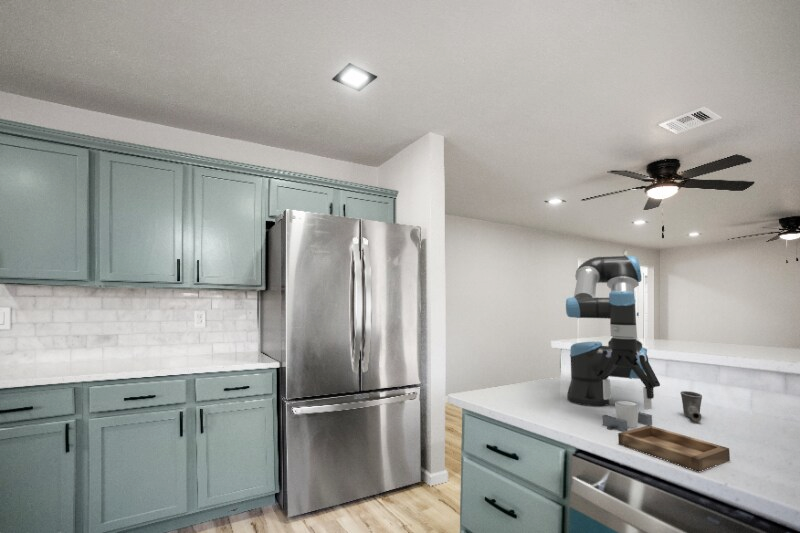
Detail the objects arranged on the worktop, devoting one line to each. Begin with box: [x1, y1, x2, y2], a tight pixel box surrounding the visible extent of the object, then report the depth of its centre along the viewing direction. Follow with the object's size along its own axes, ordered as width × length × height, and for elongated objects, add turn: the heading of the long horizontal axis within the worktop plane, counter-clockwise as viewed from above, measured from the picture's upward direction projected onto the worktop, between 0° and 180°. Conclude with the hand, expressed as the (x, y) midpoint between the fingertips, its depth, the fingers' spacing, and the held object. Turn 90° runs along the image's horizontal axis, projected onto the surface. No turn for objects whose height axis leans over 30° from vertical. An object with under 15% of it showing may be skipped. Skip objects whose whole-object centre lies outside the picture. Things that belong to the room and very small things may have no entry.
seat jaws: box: [601, 411, 653, 432], centre depth 126 cm, size 7×19×3 cm, turn 117°
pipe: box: [680, 390, 703, 423], centre depth 133 cm, size 6×13×8 cm, turn 152°
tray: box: [617, 425, 731, 472], centre depth 104 cm, size 20×15×3 cm
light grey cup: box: [614, 400, 640, 429], centre depth 126 cm, size 7×7×7 cm
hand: (626, 403), depth 126 cm, fingers open, 13 cm apart
